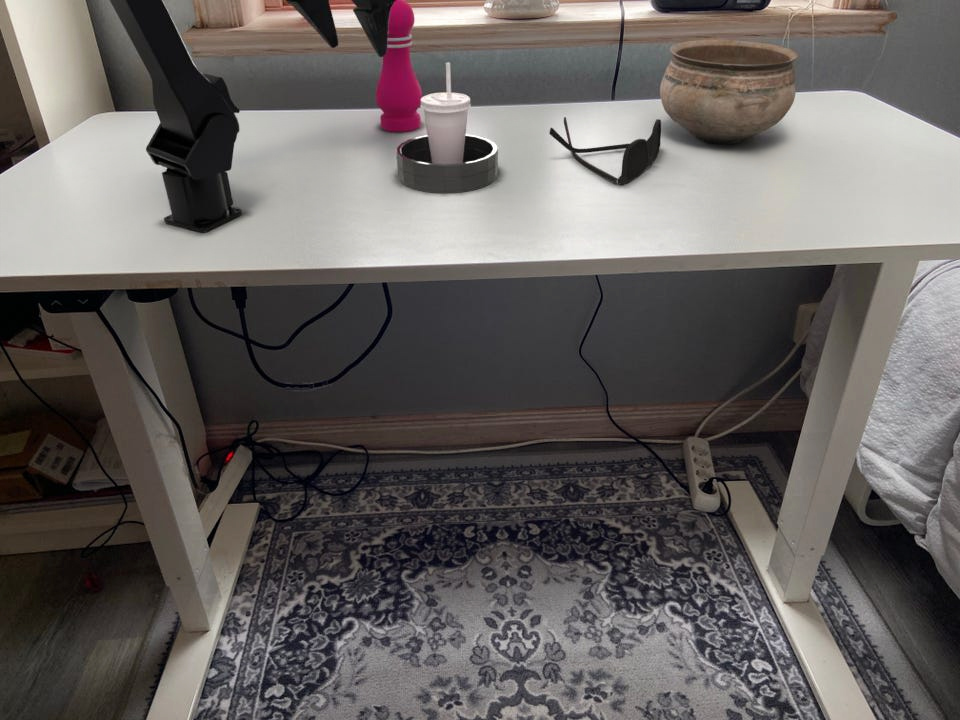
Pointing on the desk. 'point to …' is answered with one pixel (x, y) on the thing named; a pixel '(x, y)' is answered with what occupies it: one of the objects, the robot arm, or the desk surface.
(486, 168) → the pan
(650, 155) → the sunglasses
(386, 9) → the robot arm
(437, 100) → the smoothie
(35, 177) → the desk surface
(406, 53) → the pepper mill
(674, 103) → the cooking pot
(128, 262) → the desk surface
